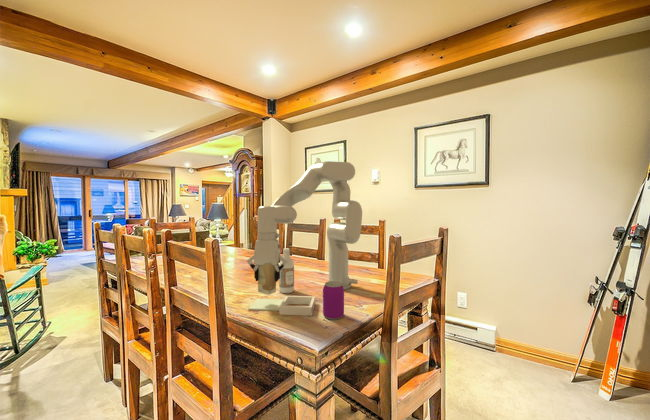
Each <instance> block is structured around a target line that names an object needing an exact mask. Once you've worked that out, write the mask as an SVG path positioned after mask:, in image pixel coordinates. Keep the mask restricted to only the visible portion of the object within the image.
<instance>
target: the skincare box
mask: <svg viewBox="0 0 650 420" xmlns="http://www.w3.org/2000/svg"><path fill="white" fill-rule="evenodd" d="M275 272H276V269H275V267H274V266H273V265H272V264H264V265H259V267H258V281H257V293H261V294H264V295H272V294H274V293H276V292H277V282H276V281H275Z"/></svg>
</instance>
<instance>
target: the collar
mask: <svg viewBox="0 0 650 420" xmlns="http://www.w3.org/2000/svg"><path fill="white" fill-rule="evenodd" d="M283 299H284V300H283V302H282V303H281V305H280V306H279V311H278V312H279V315H285V316H287V315H288V316H312V315H313V312H314V308H315V305H316V296H315V295H314V296H311V295H310V296H309V295H286V296H284V298H283ZM307 305H308V306H307Z"/></svg>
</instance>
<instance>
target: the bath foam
mask: <svg viewBox="0 0 650 420" xmlns="http://www.w3.org/2000/svg"><path fill="white" fill-rule="evenodd" d="M290 251H291V250H290V247H289V248H287V247H285V248H284V247H283V251H282V252H283V256H282V257H283V258H285V259H286V260H287V263H286V264H285V266H284V267H283V268H282V269H281V270H280V279H279V280H278V287H279V288H278V292H279V293H281V294H292V293H293V292H294V291H295V264H294V263H295V262H294V261H293V259H292V258H291V255H290V253H291V252H290ZM282 263H283V262H282V261H281V262H280V263H278V264H279V266H281V265H282Z"/></svg>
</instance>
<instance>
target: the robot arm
mask: <svg viewBox="0 0 650 420" xmlns="http://www.w3.org/2000/svg"><path fill="white" fill-rule="evenodd" d="M355 175H356V169H355V165H353V164H352V163H351V162H349V161H330V160H329V161H320V162H316V163H313V164H312V165H310V166H309V167H308V169H307V170H306V171H305V172H304V173H303V175H302V176H301V177H300V178H299V179H298V180H297V182H296V183H295V184H294V185H292V186H291V187H290V188H289V189H287V190H286V191H285V192H283V193H281V195H279V196H278V198H277V199H276V200H275V201H274V202H273V203H272V204H271V205H261V206H259V207H258V208H257V239H256V240H255V244H254V250H253V251H254V252H253V255H252V256H251V257H250V258H249V259H247V260H246V262H247V264H248V265H249V267H250V268H251V269H252V270H253V271H254V274H253V275H254V279H255V282H258V267H259V265H264V264H272V265H273V266H274V267H275V269H276V272H275V281H276V283H277V282H279V279H280V270H281V269H282V268H283V267H284V266H285V264H286V263H287V260H286V259H285V258H283V256H282V255H281V244H280V239H279V238H281V234H280V233H278V225H277V224H284V225H285V224H286V225H287V224H291V223H293V222H294V221H295V220H296V219H297V216H298V212H297V211H296V209H295V208H294V205H296V204H298V203H301V202H302V201H305V200H307V199H309V198H311V197H312V196H313V194H314V193H315V191H316V190H317V188H318V187H320V185H321V184H322V182H327V181H328V182H329V185H331V187H332V192H333V193H332V203H331V204H332V205H331V216H332V217H333V218H334V219H335V220H339V221H340V220H341V221H345V222H338V221H337V222H332V223H331V224H329V225H328V227H327V230H326V236H327V241H328V243H327V244H328V282H329V281H337V282H341V283H342V285H343V288H344V291H346V290H349V289H351V288H352V284H353V285H357V284H358V279H355V278H350V276H349V248H348V245H347V244H350V245H352V244H353V245H354V244H356V243H357V242H358V241H359V240H360V237H361V233H362V232H361V231H362V221H363V208H362V205H361V204H360V202H358V201H357V200H354V199H353V200H351V188H350V185H349V183H348V182H347V181H351V180H353V179H354V177H355ZM281 261H282V262H283V263H282V265H281V266H279V264H280V262H281Z"/></svg>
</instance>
